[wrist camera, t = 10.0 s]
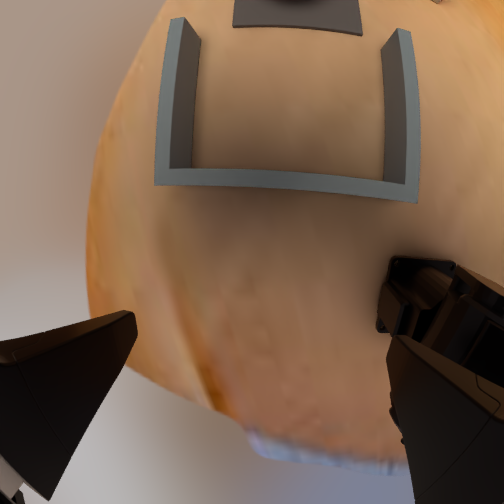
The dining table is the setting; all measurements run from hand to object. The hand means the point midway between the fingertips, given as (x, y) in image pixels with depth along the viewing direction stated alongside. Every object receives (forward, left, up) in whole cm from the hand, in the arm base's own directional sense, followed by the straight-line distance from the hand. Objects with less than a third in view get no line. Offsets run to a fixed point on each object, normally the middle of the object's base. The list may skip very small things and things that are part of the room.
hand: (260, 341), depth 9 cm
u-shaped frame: (-1, -11, -12) cm, 16 cm away
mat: (-1, -22, -12) cm, 25 cm away
